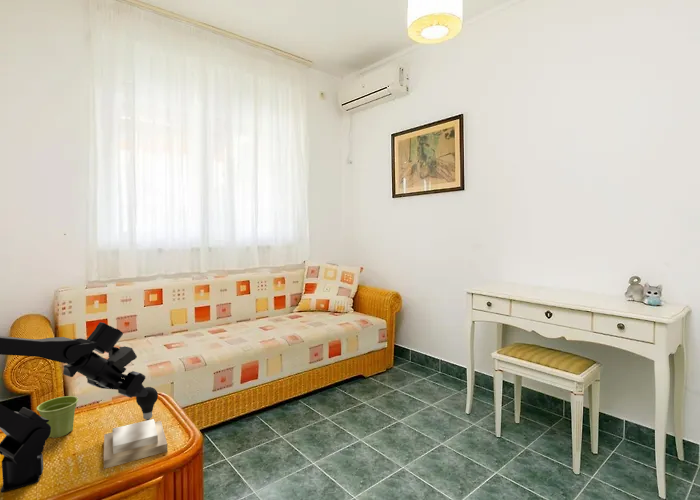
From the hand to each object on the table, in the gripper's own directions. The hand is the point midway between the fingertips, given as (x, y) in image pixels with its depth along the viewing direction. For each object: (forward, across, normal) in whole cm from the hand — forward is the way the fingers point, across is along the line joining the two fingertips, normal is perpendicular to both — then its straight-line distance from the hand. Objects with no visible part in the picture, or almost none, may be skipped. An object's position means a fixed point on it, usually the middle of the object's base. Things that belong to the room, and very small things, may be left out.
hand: (136, 391), depth 114 cm
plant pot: (-2, +16, +16) cm, 23 cm away
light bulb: (+10, 0, +5) cm, 11 cm away
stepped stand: (+2, -10, +12) cm, 16 cm away
